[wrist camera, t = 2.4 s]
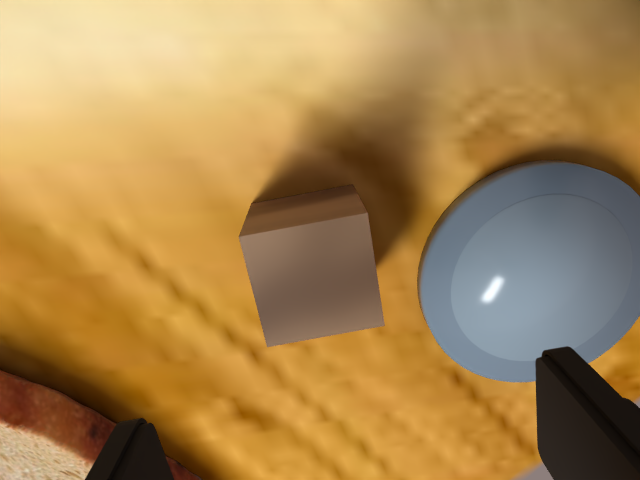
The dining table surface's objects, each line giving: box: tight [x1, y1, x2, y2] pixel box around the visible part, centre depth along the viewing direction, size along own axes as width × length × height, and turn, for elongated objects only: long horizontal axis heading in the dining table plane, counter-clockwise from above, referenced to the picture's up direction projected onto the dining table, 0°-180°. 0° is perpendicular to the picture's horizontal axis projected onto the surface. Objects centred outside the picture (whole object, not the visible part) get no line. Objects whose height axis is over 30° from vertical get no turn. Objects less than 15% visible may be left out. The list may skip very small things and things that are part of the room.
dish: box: [417, 160, 640, 382], centre depth 23 cm, size 12×12×1 cm
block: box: [239, 185, 385, 347], centre depth 20 cm, size 5×5×5 cm
